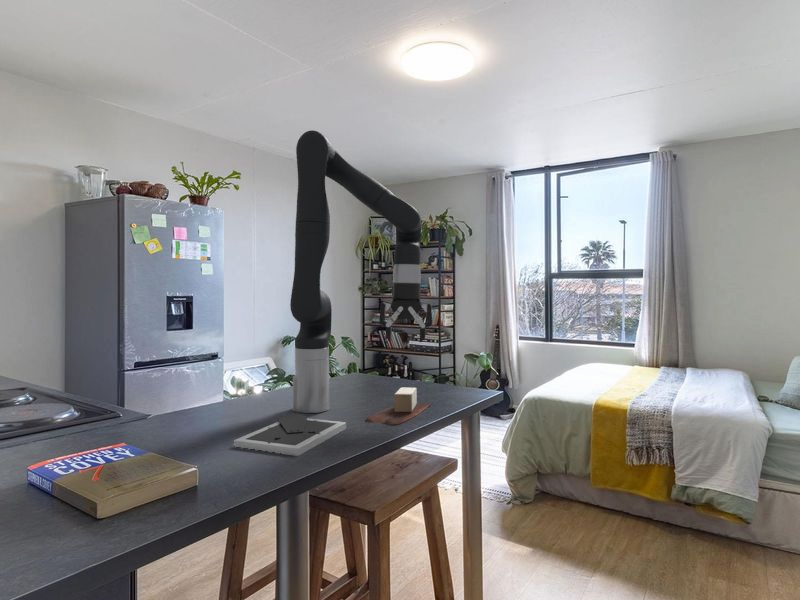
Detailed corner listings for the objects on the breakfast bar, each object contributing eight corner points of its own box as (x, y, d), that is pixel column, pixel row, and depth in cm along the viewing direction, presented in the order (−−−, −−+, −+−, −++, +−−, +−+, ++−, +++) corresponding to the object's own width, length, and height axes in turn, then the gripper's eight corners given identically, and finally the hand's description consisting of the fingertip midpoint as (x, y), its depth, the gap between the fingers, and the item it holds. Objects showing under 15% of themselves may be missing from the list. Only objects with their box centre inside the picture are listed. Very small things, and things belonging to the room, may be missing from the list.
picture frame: (290, 424, 122) (233, 450, 102) (290, 413, 122) (233, 436, 102) (346, 431, 116) (297, 459, 97) (346, 419, 116) (297, 444, 97)
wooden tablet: (408, 397, 146) (438, 396, 141) (408, 404, 146) (439, 404, 141) (361, 418, 122) (396, 418, 118) (362, 427, 122) (397, 427, 118)
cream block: (400, 387, 138) (394, 394, 128) (416, 387, 137) (411, 394, 128) (400, 403, 138) (394, 411, 128) (416, 403, 138) (411, 412, 128)
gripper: (378, 280, 128) (377, 342, 129) (432, 281, 127) (431, 343, 127) (382, 281, 136) (381, 339, 136) (433, 282, 135) (432, 340, 135)
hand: (405, 341), depth 132 cm, fingers open, 8 cm apart
